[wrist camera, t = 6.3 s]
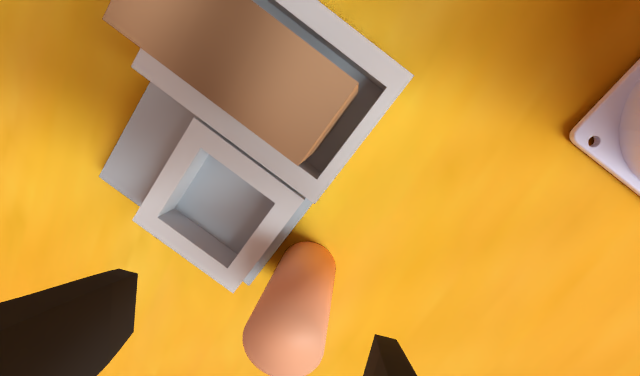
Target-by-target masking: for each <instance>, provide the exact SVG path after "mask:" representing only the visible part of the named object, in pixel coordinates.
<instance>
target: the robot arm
mask: <svg viewBox="0 0 640 376" xmlns="http://www.w3.org/2000/svg"><path fill="white" fill-rule="evenodd" d="M592 136H593V137H594V143H593V145H591V146H589V144H588V140H589V139H590V138H591V137H592ZM569 137H570V140H571V142H572V143H573V144H574V145H576V146H577V147H578V148H579V149H581V150H582V151H583V152H584V153H586V154H587V155H588V156H590V157H591V158H592V159H593V160H595V161H596V162H597V163H598V164H600V165H601V166H602V167H603V168H605V169H606V170H607V171H609V172H610V173H611V174H612V175H614V176H615V177H616V178H617V179H619V180H620V181H621V182H622V183H624V184H625V185H626V186H628V187H629V188H630V189H631V190H633V191H634V192H635V193H636V194H638V195H639V196H640V59H639V60H638V61H637V62H636V63H635V64H634V65H633V66H632V67H631V68H630V69H629V70H628V71H627V72H626V73H625V74H624V75H623V76H622V77H621V79H620V80H619V81H618V82H617V83H616V84H615V85H614V86H613V87H612V88H611V89H610V90H609V91H608V92H607V93H606V94H605V95H604V96H603V97H602V98H601V99H600V100H599V101H598V103H597V104H596V105H595V106H594V107H593V108H592V109H591V110H590V111H589V112H588V113H587V114H586V115H585V116H584V117H583V118H582V119H581V120H580V121H579V122H578V123H577V124H576V125H575V126H574V128H573V129H572V130H571V132H570V136H569ZM137 278H138V274H137V273H133V272H129V271H126V270H122V269H116V270H111V271H107V272H103V273H100V274H96V275H93V276H89V277H86V278H83V279H79V280H76V281H73V282H69V283H66V284H63V285H59V286H56V287H53V288H50V289H46V290H43V291H40V292H36V293H33V294H30V295H26V296H23V297H19V298H15V299H12V300H8V301H5V302H1V303H0V376H97V375H98V374H99V373H100V372H101V371H102V370H103V369H104V368H105V367H106V366H107V364H108V363H109V362H110V361H111V360H112V358H113V357H114V356H115V355H116V354H117V352H118V351H119V350H120V349H121V347H122V346H123V345H124V343H125V342H126V341H127V340H128V338H129V337H130V336H131V334H132V333H133V331H134V318H135V304H136V291H137ZM363 376H417V375H416V373H415V371H414V369H413V368H412V366H411V364H410V362H409V361H408V359H407V357H406V355H405V354H404V352H403V350H402V348H401V347H400V345H399V343H398V342H397V340H396V339H392V338H388V337H384V336H380V335H376V334H375V336H374V340H373V343H372V347H371V350H370V354H369V357H368V361H367V364H366V368H365V371H364V375H363Z"/></svg>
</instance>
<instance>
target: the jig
mask: <svg viewBox="0 0 640 376" xmlns="http://www.w3.org/2000/svg"><path fill="white" fill-rule="evenodd" d="M252 1H253V2H255V3H256V4H257V5H259V6H260V7H261V8H262V9H264V10H265V11H266V12H268V13H269V14H270V15H272V16H273V17H274V18H275V19H277V20H278V21H279V22H281V23H282V24H283V25H284V26H286V27H287V28H288V29H290V30H291V31H292V32H294V33H295V34H296V35H297V36H299V37H300V38H301V39H303V40H304V41H305V42H306V43H308V44H309V45H310V46H312V47H313V48H314V49H316V50H317V51H318V52H319V53H321V54H322V55H323V56H325V57H326V58H327V59H329V60H330V61H331V62H332V63H334V64H335V65H336V66H338V67H339V68H340V69H341V70H343V71H344V72H345V73H347V74H348V75H349V76H351V77H352V78H353V79H354V80H356V81H357V82H358V83H359V84H358V95H357V96H356V98H355V99H354V100H353V102H352V103H351V104H350V106H349V107H348V108H347V110H346V111H345V113H344V114H343V115H342V117H341V118H340V119H339V121H338V122H337V123H336V125H335V126H334V127H333V129H332V130H331V132H330V133H329V134H328V136H327V137H326V138H325V140H324V141H323V142H322V144H321V145H320V146H319V148H318V149H317V151H315V152H314V153H313V154H312V155H311V156H309V157H308V158H307V159H306V160H305V161H303V162H302V163H301V164H300V165H298V166H297V165H296V164H294V163H293V162H292V161H290V160H289V159H288V158H286V157H285V156H284V155H282V154H281V153H280V152H278V151H277V150H276V149H274V148H273V147H272V146H270V145H269V144H268V143H266V142H265V141H264V140H262V139H261V138H260V137H258V136H257V135H256V134H254V133H253V132H252V131H250V130H249V129H248V128H246V127H245V126H244V125H242V124H241V123H240V122H238V121H237V120H236V119H234V118H233V117H232V116H230V115H229V114H228V113H226V112H225V111H224V110H222V109H221V108H220V107H218V106H217V105H216V104H214V103H213V102H212V101H210V100H209V99H208V98H206V97H205V96H204V95H203V94H201V93H200V92H199V91H197V90H196V89H195V88H193V87H192V86H191V85H189V84H188V83H187V82H185V81H184V80H183V79H181V78H180V77H179V76H177V75H176V74H175V73H173V72H172V71H171V70H169V69H168V68H167V67H165V66H164V65H163V64H161V63H160V62H159V61H157V60H156V59H155V58H153V57H152V56H151V55H149V54H148V53H147V52H145V51H144V50H143V49H141V48H140V50H139V52H138V54H137V56H136V58H135V60H134V62H133V64H132V65H131V67H132V68H133V69H134V70H136V71H137V72H138V73H140V74H141V75H142V76H144V77H145V78H146V79H148V80H149V81H150V83H149V85H148V87H147V89H146V90H145V92H144V94H143V96H142V98H141V100H140V101H139V103H138V105H137V107H136V109H135V111H134V112H133V114H132V116H131V118H130V120H129V122H128V124H127V125H126V127H125V129H124V131H123V133H122V135H121V136H120V138H119V140H118V142H117V144H116V146H115V148H114V149H113V151H112V153H111V155H110V157H109V159H108V160H107V162H106V164H105V166H104V168H103V170H102V172H101V173H100V175H99V177H100V178H101V179H103V180H104V181H105V182H107V183H108V184H110V185H111V186H112V187H114V188H115V189H116V190H118V191H119V192H121V193H122V194H123V195H125V196H126V197H127V198H129V199H130V200H132V201H133V202H134V203H136V204H137V205H138V206H140V208H139V210H138V211H137V213H136V215H135V216H134V218H133V221H134V222H135V223H137V224H138V225H139V226H141V227H142V228H144V229H145V230H146V231H148V232H149V233H151V234H152V235H153V236H155V237H156V238H157V239H159V240H160V241H162V242H163V243H164V244H166V245H167V246H168V247H170V248H171V249H173V250H174V251H175V252H177V253H178V254H180V255H181V256H182V257H184V258H185V259H186V260H188V261H189V262H191V263H192V264H193V265H195V266H196V267H197V268H199V269H200V270H202V271H203V272H204V273H206V274H207V275H209V276H210V277H211V278H213V279H214V280H215V281H217V282H218V283H220V284H221V285H222V286H224V287H225V288H226V289H228V290H229V291H231V292H232V293H234V292H235V290H236V289H237V288H238V286H239V285H240V284H241V282H242V281H243V282H244V283H246V284H247V285H250V284H251V283H252V281H253V280H254V279H255V277H256V276H257V275H258V274H259V272H260V271H261V270H262V268H263V267H264V266H265V265H266V263H267V262H268V261H269V259H270V258H271V257H272V255H273V254H274V253H275V252H276V250H277V249H278V248H279V246H280V245H281V244H282V242H283V241H284V240H285V239H286V237H287V236H288V235H289V233H290V232H291V231H292V229H293V228H294V227H295V226H296V224H297V223H298V222H299V220H300V219H301V218H302V217H303V215H304V214H305V213H306V211H307V210H308V209H309V207H310V206H311V205H312V204H313V203H314V204H315V203H316V202H317V200H318V199H319V198H320V197H321V195H322V194H323V193H324V191H325V190H326V189H327V188H328V186H329V185H330V184H331V182H332V181H333V180H334V178H335V177H336V176H337V175H338V173H339V172H340V171H341V169H342V168H343V167H344V166H345V164H346V163H347V162H348V160H349V159H350V158H351V157H352V155H353V154H354V153H355V151H356V150H357V149H358V147H359V146H360V145H361V144H362V142H363V141H364V140H365V138H366V137H367V136H368V135H369V133H370V132H371V131H372V129H373V128H374V127H375V125H376V124H377V123H378V122H379V120H380V119H381V118H382V116H383V115H384V114H385V113H386V111H387V110H388V109H389V107H390V106H391V105H392V104H393V102H394V101H395V100H396V98H397V97H398V96H399V94H400V93H401V92H402V91H403V89H404V88H405V87H406V85H407V84H408V83H409V82H410V80H411V79H412V78H413V76H414V75H413V74H411V73H410V72H409V71H408V70H406V69H405V68H404V67H402V66H401V65H400V64H399V63H397V62H396V61H395V60H393V59H392V58H391V57H390V56H388V55H387V54H386V53H384V52H383V51H382V50H381V49H379V48H378V47H377V46H375V45H374V44H373V43H372V42H370V41H369V40H368V39H367V38H365V37H364V36H363V35H361V34H360V33H359V32H358V31H356V30H355V29H354V28H352V27H351V26H350V25H349V24H347V23H346V22H345V21H343V20H342V19H341V18H340V17H338V16H337V15H336V14H334V13H333V12H332V11H331V10H329V9H328V8H327V7H325V6H324V5H323V4H322V3H320V2H319V1H318V0H252Z"/></svg>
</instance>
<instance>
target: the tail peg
mask: <svg viewBox="0 0 640 376" xmlns="http://www.w3.org/2000/svg"><path fill="white" fill-rule="evenodd" d="M335 270H336V267H335V261H334V259H333V257H332V255H331V254H330V252H329V251H328V250H327V249H326V248H325V247H323V246H322V245H320V244H317V243H314V242H308V241H305V242H299V243H296V244H294V245H292V246H291V247H289V248H288V249H287V250H286V252H285V253H284V255H283V257H282V258H281V260H280V262H279V264H278V266H277V268H276V270H275V271H274V273H273V275H272V277H271V279H270V281H269V283H268V284H267V286H266V288H265V290H264V292H263V294H262V296H261V297H260V299H259V301H258V303H257V305H256V307H255V309H254V311H253V312H252V314H251V316H250V318H249V320H248V322H247V324H246V326H245V328H244V331H243V346H244V349H245V352H246V354H247V356H248V358H249V359H250V360H251V362H252V363H253V364H254V365H255V366H256V367H257V368H258V369H260V370H261V371H263V372H264V373H266V374H268V375H270V376H305V375H307V374H309V373H310V372H312V371H313V370H314V369H315V368H316V367H317V366H318V365H319V363H320V362H321V360H322V357H323V354H324V348H325V341H326V334H327V327H328V320H329V313H330V306H331V299H332V292H333V285H334V278H335Z"/></svg>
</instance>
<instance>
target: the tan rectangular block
mask: <svg viewBox="0 0 640 376" xmlns="http://www.w3.org/2000/svg"><path fill="white" fill-rule="evenodd" d="M102 19H103V20H104V21H105V22H107V23H108V24H109V25H111V26H112V27H113V28H115V29H116V30H117V31H119V32H120V33H121V34H123V35H124V36H125V37H127V38H128V39H129V40H131V41H132V42H133V43H135V44H136V45H137V46H139V47H140V48H141V49H143V50H144V51H145V52H147V53H148V54H149V55H151V56H152V57H153V58H155V59H156V60H157V61H159V62H160V63H161V64H163V65H164V66H165V67H167V68H168V69H169V70H171V71H172V72H173V73H175V74H176V75H177V76H179V77H180V78H181V79H183V80H184V81H185V82H187V83H188V84H189V85H191V86H192V87H193V88H195V89H196V90H197V91H199V92H200V93H201V94H203V95H204V96H205V97H206V98H208V99H209V100H210V101H212V102H213V103H214V104H216V105H217V106H218V107H220V108H221V109H222V110H224V111H225V112H226V113H228V114H229V115H230V116H232V117H233V118H234V119H236V120H237V121H238V122H240V123H241V124H242V125H244V126H245V127H246V128H248V129H249V130H250V131H252V132H253V133H254V134H256V135H257V136H258V137H260V138H261V139H262V140H264V141H265V142H266V143H268V144H269V145H270V146H272V147H273V148H274V149H276V150H277V151H278V152H280V153H281V154H282V155H284V156H285V157H286V158H288V159H289V160H290V161H292V162H293V163H294V164H296V165H297V166H298V165H300V164H301V163H302V162H303V161H305V160H306V159H307V158H308V157H309V156H311V155H312V154H313V153H314V152H315V151H317V149H318V148H319V146H320V145H321V144H322V142H323V141H324V140H325V138H326V137H327V136H328V134H329V133H330V132H331V130H332V129H333V127H334V126H335V125H336V123H337V122H338V121H339V119H340V118H341V117H342V115H343V114H344V113H345V111H346V110H347V108H348V107H349V106H350V104H351V103H352V102H353V100H354V99H355V98H356V96H357V95H358V84H359V83H358V82H357V81H356V80H354V79H353V78H352V77H351V76H349V75H348V74H347V73H345V72H344V71H343V70H341V69H340V68H339V67H338V66H336V65H335V64H334V63H332V62H331V61H330V60H329V59H327V58H326V57H325V56H323V55H322V54H321V53H319V52H318V51H317V50H316V49H314V48H313V47H312V46H310V45H309V44H308V43H306V42H305V41H304V40H303V39H301V38H300V37H299V36H297V35H296V34H295V33H294V32H292V31H291V30H290V29H288V28H287V27H286V26H284V25H283V24H282V23H281V22H279V21H278V20H277V19H275V18H274V17H273V16H272V15H270V14H269V13H268V12H266V11H265V10H264V9H262V8H261V7H260V6H259V5H257V4H256V3H255V2H253V1H252V0H111V1H110V4H109V6H108V8H107V10H106V12H105V14H104V16H103V18H102Z"/></svg>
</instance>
